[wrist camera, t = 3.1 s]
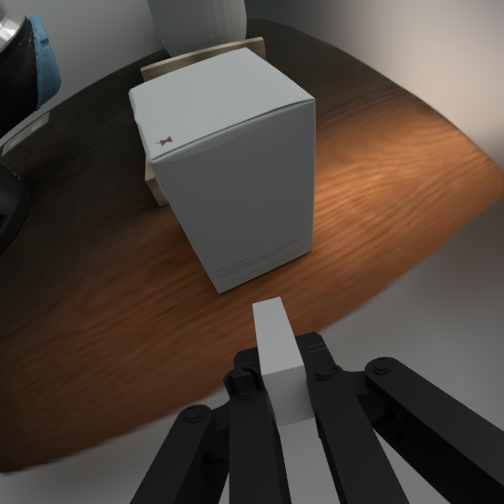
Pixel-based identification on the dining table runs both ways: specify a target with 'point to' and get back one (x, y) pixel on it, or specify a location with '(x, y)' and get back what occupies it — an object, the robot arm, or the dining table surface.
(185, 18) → the citrus juicer
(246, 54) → the supplement box
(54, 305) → the dining table surface
